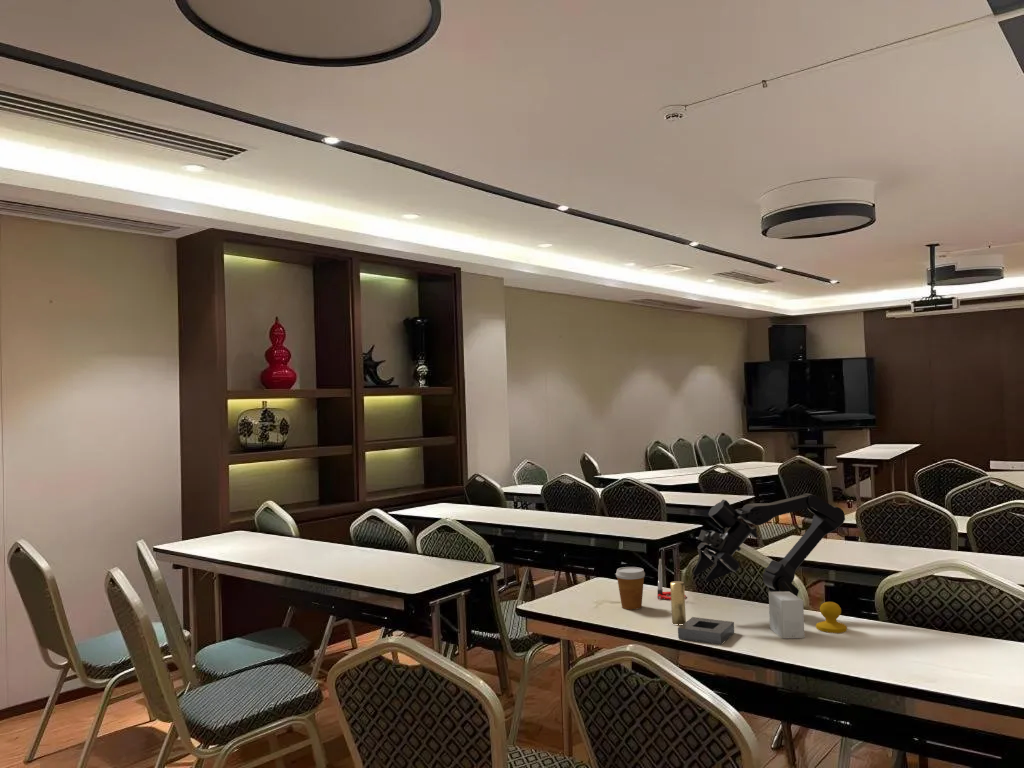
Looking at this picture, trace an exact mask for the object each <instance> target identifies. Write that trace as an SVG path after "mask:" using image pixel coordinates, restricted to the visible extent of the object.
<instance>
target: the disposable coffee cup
mask: <svg viewBox="0 0 1024 768" xmlns="http://www.w3.org/2000/svg"><path fill="white" fill-rule="evenodd" d="M645 576H646V572H645V571H644V568H642V567H637V566H625V567H624V566H623V567H619V568H617V569H616V573H615V577H616V578H617V585H618V592H619V598H620V602H621V608H622V609H624V610H629V609H630V610H629V611H631V610H632V609H635V610H640V609H641V608H642V607H643V594H644V580H645ZM639 608H640V609H639ZM632 611H633V610H632Z"/></svg>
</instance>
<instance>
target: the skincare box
mask: <svg viewBox="0 0 1024 768" xmlns="http://www.w3.org/2000/svg"><path fill="white" fill-rule="evenodd" d="M768 604H769V605H768V608H769V629H770V630H771V631H772V632H774V633H775V634H776V635H777V636H778V637H780V638H781V639H785V640H786V639H805V619H804V618H805V616H804V615H805V614H804V613H805V612H804V611H805V610H804V600H803V599H802V598H801V597H799V596H796V595H794V594H792V593H791V592H770V591H768Z"/></svg>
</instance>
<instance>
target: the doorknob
mask: <svg viewBox="0 0 1024 768" xmlns="http://www.w3.org/2000/svg"><path fill="white" fill-rule="evenodd" d="M819 611H820V613H821V615H822V616H823V618H824V619H825V620H822V621H818V622H816V623H815V628H816V630H818V631H819V632H823V633H829V634H842V633H846V632H847V630H848V627H847V625H846V624H845V623H842V622H839V621H837V619H838V618H839V617H840V616H841V614H842V608H841V607H840V605H839V604H838V603H836V602H834V601H825V602H823V603H821V604H820V607H819Z"/></svg>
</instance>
